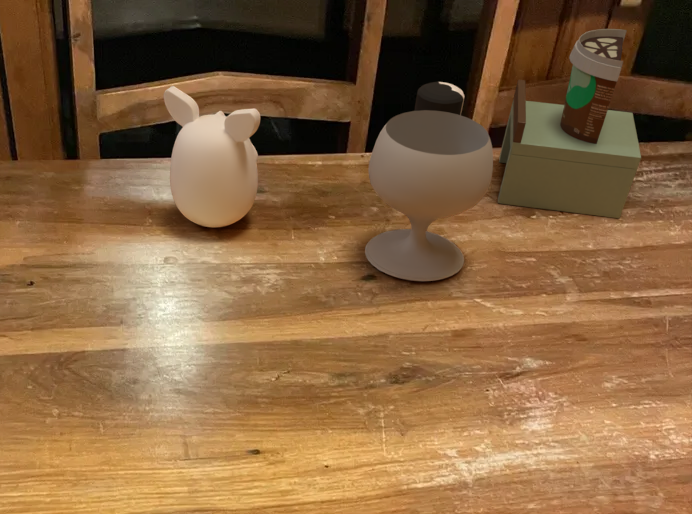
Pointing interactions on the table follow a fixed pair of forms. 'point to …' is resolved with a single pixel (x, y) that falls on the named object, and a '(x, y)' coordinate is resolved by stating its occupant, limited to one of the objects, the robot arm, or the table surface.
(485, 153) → the chalice
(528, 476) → the table surface
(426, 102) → the medicine bottle
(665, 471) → the table surface
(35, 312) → the table surface
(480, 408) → the table surface
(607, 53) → the food container
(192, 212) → the piggy bank
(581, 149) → the sage green lidded box
